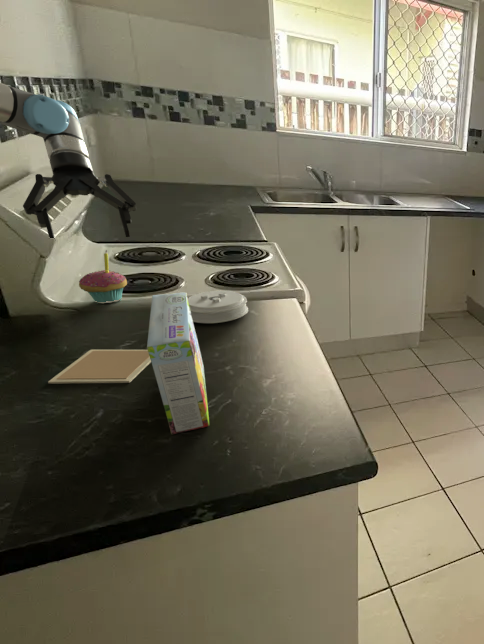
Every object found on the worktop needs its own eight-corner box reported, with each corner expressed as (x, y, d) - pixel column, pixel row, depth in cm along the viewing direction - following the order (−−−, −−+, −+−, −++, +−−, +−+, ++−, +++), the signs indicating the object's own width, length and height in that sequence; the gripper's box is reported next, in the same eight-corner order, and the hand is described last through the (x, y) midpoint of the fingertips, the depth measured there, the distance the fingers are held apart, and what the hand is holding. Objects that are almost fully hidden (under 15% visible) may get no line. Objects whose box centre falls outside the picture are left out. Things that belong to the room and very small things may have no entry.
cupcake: (129, 292, 116) (117, 244, 111) (132, 304, 111) (120, 254, 106) (84, 297, 111) (69, 247, 106) (84, 310, 106) (69, 257, 101)
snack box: (168, 371, 86) (150, 294, 80) (204, 366, 89) (189, 290, 83) (168, 436, 70) (144, 346, 64) (212, 427, 73) (193, 339, 67)
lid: (180, 311, 110) (176, 291, 107) (241, 302, 117) (238, 283, 115) (191, 331, 101) (186, 309, 99) (255, 320, 109) (252, 300, 107)
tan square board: (48, 383, 79) (47, 381, 79) (91, 351, 90) (90, 348, 90) (129, 382, 82) (129, 380, 82) (162, 351, 92) (161, 349, 92)
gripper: (135, 170, 125) (156, 240, 122) (2, 170, 110) (21, 249, 106) (132, 151, 120) (154, 224, 116) (-8, 148, 104) (12, 231, 101)
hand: (91, 236), depth 111 cm, fingers open, 13 cm apart
